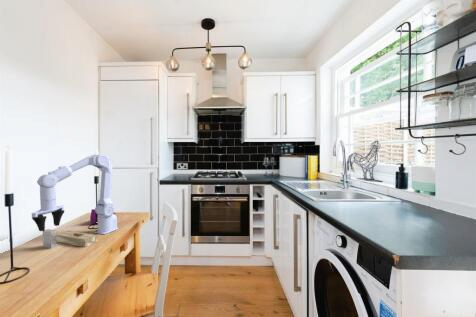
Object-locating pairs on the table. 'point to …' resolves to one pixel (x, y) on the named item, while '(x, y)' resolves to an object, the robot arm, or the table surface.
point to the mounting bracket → (94, 216)
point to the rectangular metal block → (49, 238)
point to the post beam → (76, 238)
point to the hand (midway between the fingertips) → (49, 228)
